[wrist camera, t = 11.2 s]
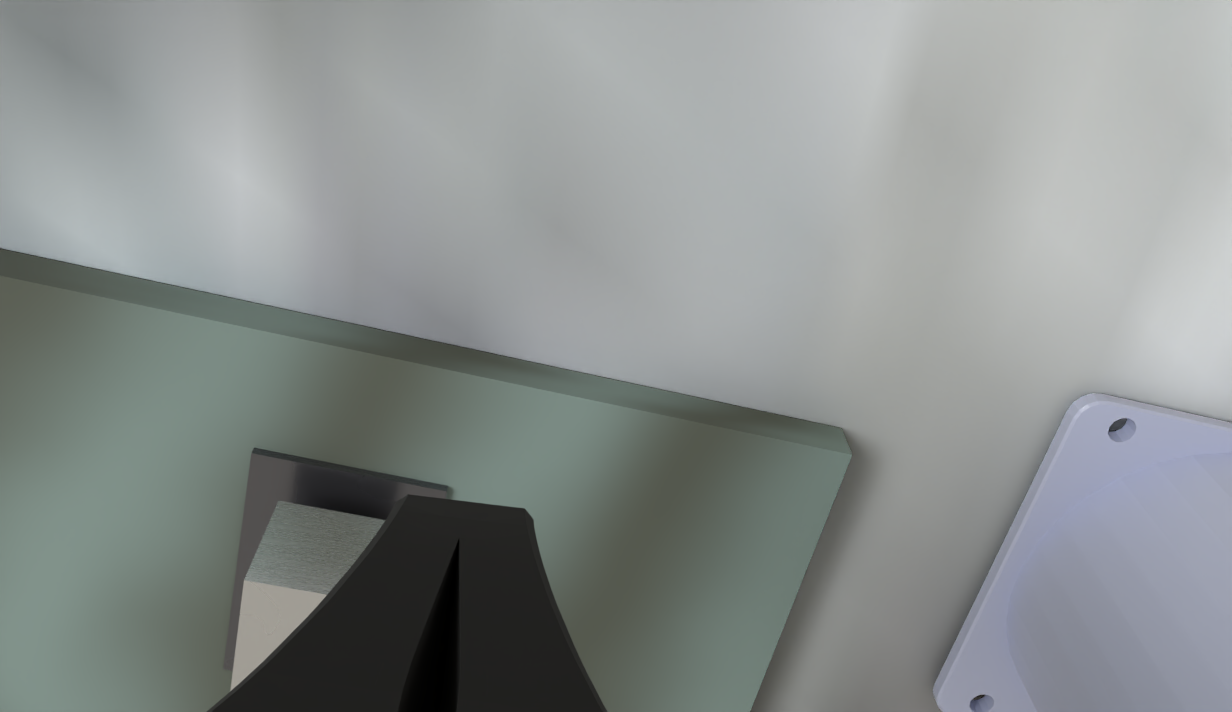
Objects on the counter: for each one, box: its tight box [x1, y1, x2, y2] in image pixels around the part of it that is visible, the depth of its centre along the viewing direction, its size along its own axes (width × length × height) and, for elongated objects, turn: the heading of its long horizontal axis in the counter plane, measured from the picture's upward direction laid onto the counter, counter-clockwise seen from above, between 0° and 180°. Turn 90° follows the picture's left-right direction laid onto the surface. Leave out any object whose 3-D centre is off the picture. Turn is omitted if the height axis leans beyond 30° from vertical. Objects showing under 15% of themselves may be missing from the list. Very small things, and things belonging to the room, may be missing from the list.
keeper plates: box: [223, 448, 448, 671], centre depth 23 cm, size 4×12×1 cm, turn 166°
